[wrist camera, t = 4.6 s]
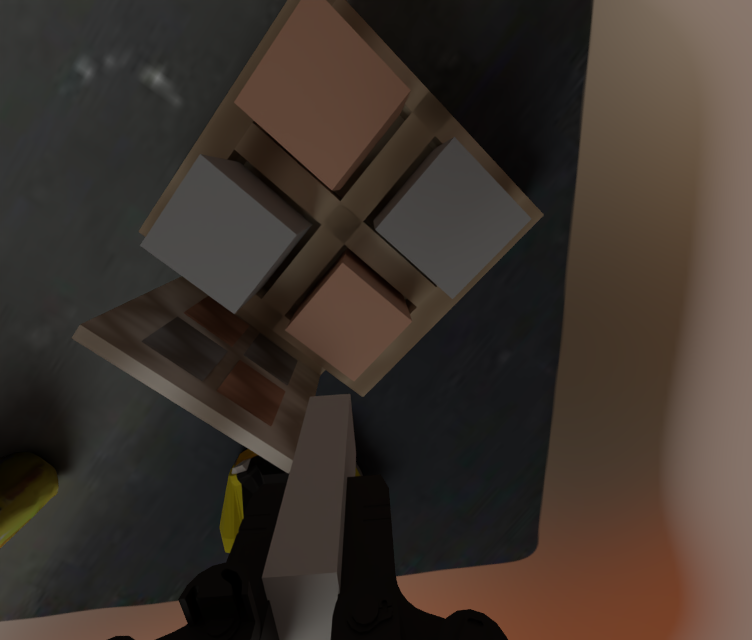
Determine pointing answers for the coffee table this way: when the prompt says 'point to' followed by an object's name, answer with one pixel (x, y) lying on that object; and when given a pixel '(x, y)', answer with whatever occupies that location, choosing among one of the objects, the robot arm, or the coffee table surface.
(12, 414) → the coffee table surface
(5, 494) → the bottle
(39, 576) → the coffee table surface
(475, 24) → the coffee table surface
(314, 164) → the button terracotta front
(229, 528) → the gaming controller
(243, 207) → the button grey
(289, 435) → the button board
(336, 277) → the button terracotta back
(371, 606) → the robot arm
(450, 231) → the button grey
